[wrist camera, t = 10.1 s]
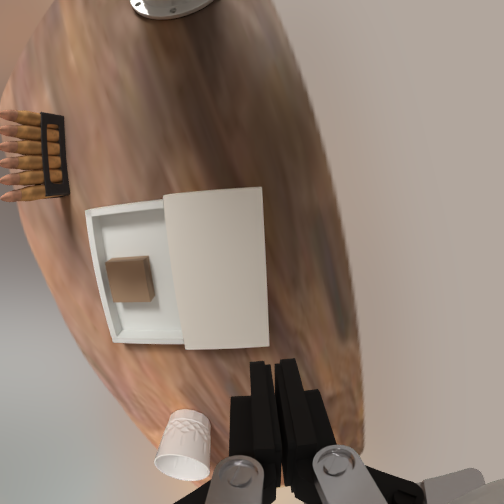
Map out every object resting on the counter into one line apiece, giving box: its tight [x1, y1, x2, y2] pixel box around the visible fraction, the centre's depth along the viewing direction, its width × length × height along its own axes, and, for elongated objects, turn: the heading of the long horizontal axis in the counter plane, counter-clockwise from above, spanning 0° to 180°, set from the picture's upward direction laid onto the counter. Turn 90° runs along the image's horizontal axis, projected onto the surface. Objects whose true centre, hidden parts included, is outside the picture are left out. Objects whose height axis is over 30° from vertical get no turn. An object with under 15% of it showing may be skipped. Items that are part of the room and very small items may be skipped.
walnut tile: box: [105, 255, 155, 302], centre depth 31 cm, size 5×5×2 cm
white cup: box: [154, 409, 211, 481], centre depth 34 cm, size 8×8×10 cm
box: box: [85, 199, 184, 344], centre depth 31 cm, size 17×10×2 cm, turn 3°
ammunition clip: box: [0, 110, 70, 202], centre depth 23 cm, size 11×2×12 cm, turn 7°
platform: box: [163, 187, 269, 350], centre depth 31 cm, size 18×10×3 cm, turn 3°
